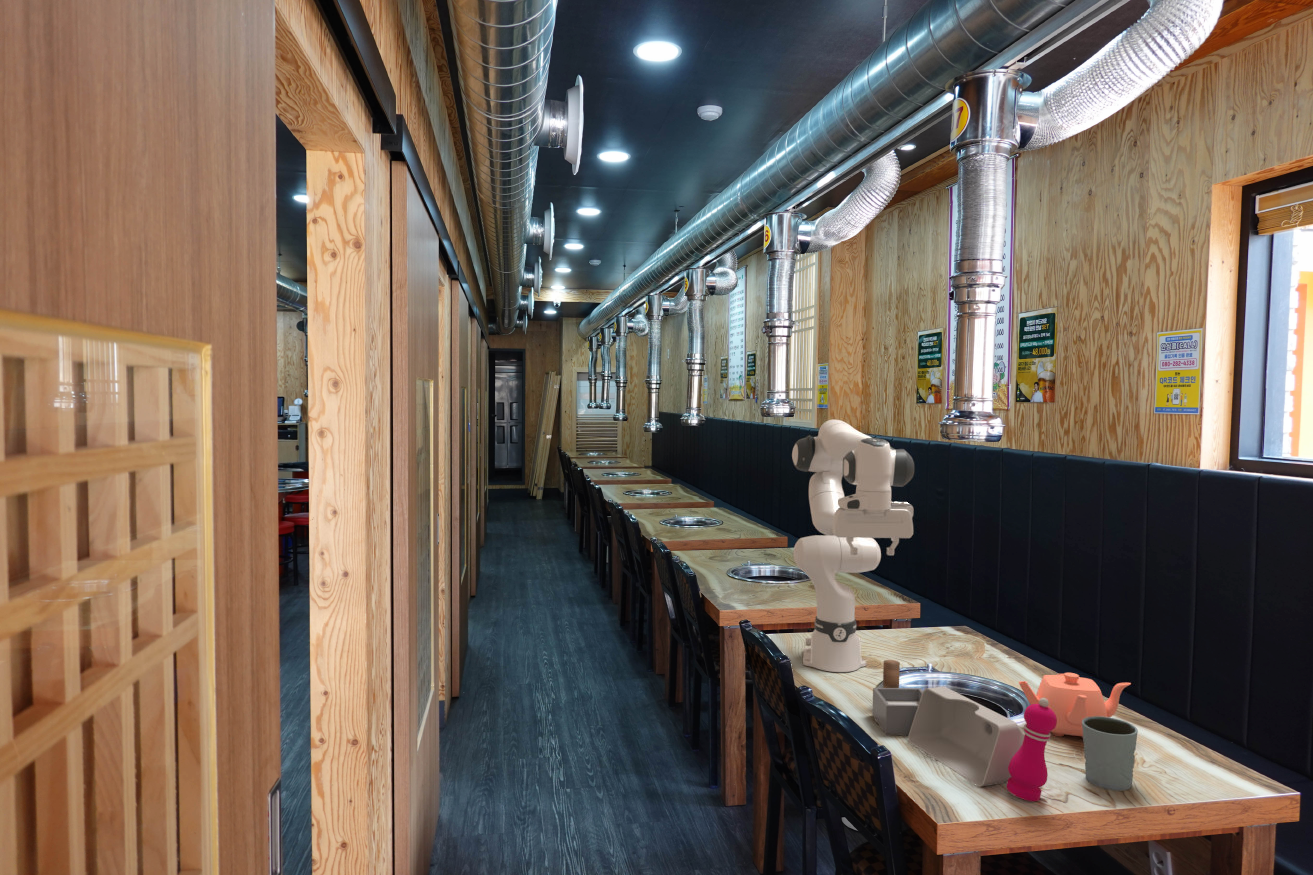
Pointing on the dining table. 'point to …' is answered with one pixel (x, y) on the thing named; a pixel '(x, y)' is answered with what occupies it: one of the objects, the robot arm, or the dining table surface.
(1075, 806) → the dining table surface
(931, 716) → the beige storage bin
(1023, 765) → the pepper mill
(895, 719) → the box
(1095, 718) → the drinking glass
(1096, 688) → the teapot
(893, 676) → the walnut peg
